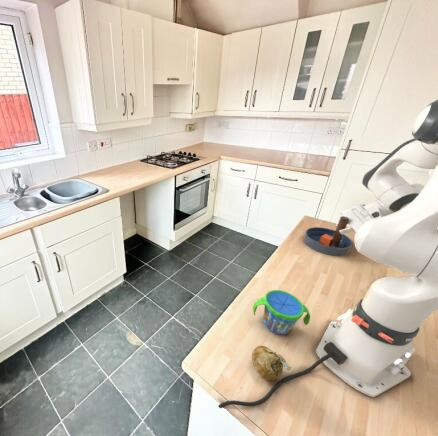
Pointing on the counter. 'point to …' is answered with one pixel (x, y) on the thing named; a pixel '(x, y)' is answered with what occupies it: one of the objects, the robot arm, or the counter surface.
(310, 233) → the bowl
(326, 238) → the block
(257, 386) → the counter surface
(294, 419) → the counter surface
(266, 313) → the snack cup
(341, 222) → the stick
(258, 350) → the onion
